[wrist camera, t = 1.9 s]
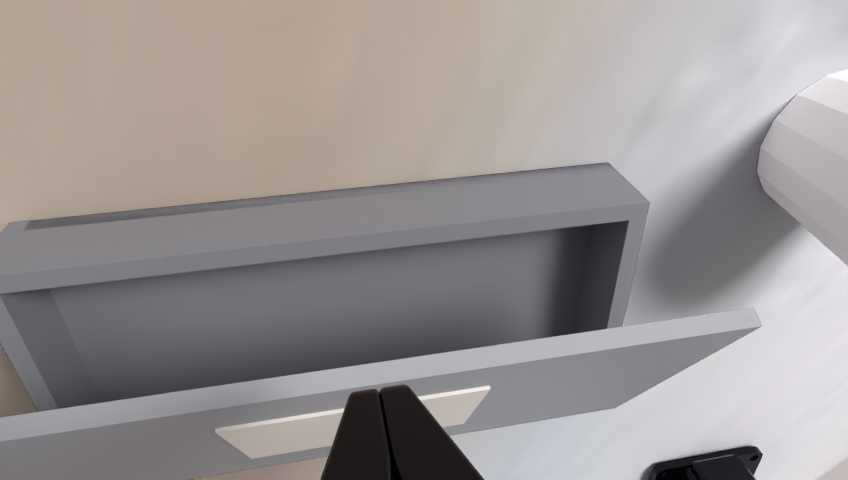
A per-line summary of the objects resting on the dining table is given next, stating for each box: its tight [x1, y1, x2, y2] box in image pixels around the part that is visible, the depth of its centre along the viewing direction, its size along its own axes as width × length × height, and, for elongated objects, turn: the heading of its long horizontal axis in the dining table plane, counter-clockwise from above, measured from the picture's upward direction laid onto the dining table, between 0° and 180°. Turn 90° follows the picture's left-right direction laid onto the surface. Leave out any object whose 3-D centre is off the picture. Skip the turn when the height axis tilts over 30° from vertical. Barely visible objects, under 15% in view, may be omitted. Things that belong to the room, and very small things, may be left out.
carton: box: [0, 163, 650, 412], centre depth 21 cm, size 9×20×3 cm, turn 91°
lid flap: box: [0, 308, 762, 480], centre depth 18 cm, size 10×20×1 cm, turn 90°
